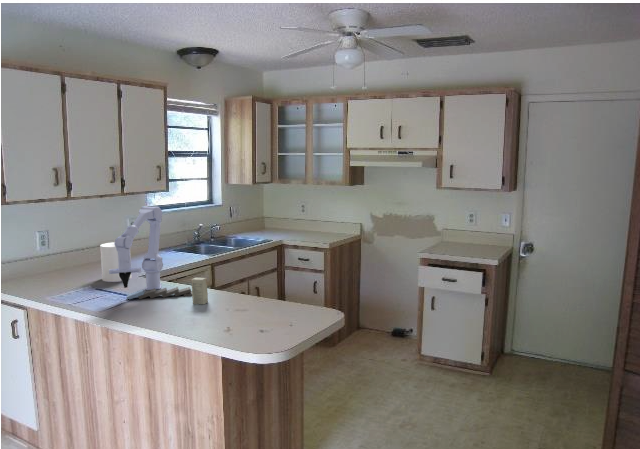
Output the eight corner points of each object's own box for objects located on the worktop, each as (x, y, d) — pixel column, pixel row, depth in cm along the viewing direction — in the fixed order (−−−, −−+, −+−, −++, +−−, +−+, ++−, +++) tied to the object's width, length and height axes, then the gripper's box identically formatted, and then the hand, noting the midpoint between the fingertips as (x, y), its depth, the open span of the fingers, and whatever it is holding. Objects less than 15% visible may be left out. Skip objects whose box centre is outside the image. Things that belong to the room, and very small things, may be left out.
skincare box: (208, 302, 243) (207, 277, 241) (203, 304, 239) (203, 279, 237) (196, 301, 244) (195, 276, 243) (191, 303, 240) (191, 279, 239)
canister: (136, 275, 296) (135, 242, 293) (123, 282, 280) (121, 247, 277) (111, 274, 298) (109, 241, 295) (96, 281, 282) (94, 246, 279)
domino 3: (150, 293, 253) (166, 287, 255) (151, 295, 254) (167, 290, 255) (149, 295, 248) (165, 290, 250) (150, 298, 249) (166, 293, 250)
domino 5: (174, 291, 256) (189, 286, 259) (174, 294, 257) (190, 289, 259) (174, 293, 252) (190, 289, 254) (175, 296, 252) (191, 292, 254)
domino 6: (184, 291, 258) (199, 290, 259) (184, 294, 258) (200, 293, 260) (183, 294, 253) (200, 293, 255) (184, 297, 253) (200, 296, 255)
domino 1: (127, 294, 251) (143, 289, 252) (128, 297, 251) (144, 291, 252) (126, 297, 246) (142, 291, 247) (127, 300, 246) (143, 294, 247)
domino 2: (139, 293, 252) (155, 288, 253) (140, 296, 252) (156, 291, 254) (138, 296, 247) (154, 290, 249) (139, 299, 247) (155, 293, 249)
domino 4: (162, 292, 254) (177, 287, 256) (163, 295, 255) (178, 289, 256) (161, 294, 250) (177, 289, 251) (162, 297, 250) (178, 292, 252)
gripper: (107, 262, 240) (108, 290, 242) (139, 261, 243) (140, 288, 245) (109, 259, 247) (111, 286, 249) (140, 258, 250) (141, 284, 252)
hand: (125, 287), depth 247 cm, fingers closed
